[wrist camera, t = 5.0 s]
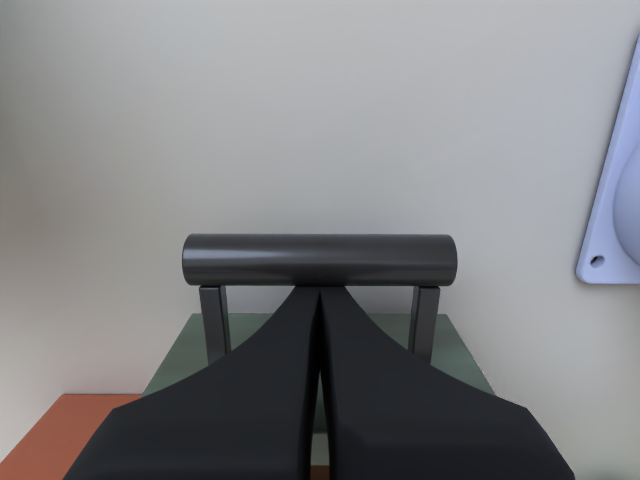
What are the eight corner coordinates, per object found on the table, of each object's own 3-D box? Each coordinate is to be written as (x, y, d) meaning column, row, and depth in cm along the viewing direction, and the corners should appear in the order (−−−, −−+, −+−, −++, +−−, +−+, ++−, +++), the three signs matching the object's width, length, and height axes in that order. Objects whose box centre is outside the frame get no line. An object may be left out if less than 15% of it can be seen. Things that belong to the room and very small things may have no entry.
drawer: (177, 200, 13) (76, 265, 8) (462, 201, 13) (562, 267, 8) (219, 519, 19) (180, 684, 14) (417, 520, 19) (456, 684, 14)
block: (61, 393, 17) (-24, 488, 13) (158, 393, 17) (104, 488, 13) (83, 463, 19) (13, 568, 15) (171, 463, 19) (127, 568, 15)
